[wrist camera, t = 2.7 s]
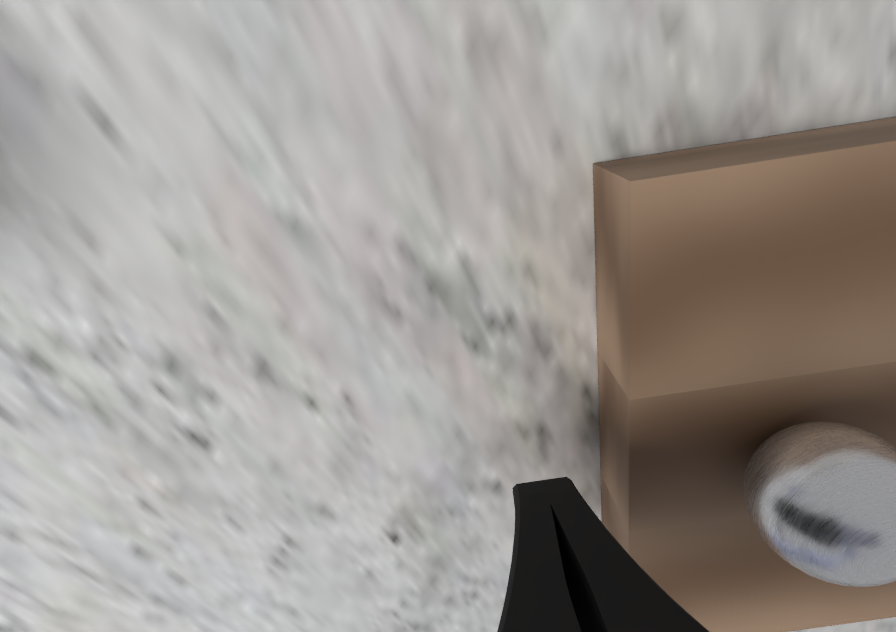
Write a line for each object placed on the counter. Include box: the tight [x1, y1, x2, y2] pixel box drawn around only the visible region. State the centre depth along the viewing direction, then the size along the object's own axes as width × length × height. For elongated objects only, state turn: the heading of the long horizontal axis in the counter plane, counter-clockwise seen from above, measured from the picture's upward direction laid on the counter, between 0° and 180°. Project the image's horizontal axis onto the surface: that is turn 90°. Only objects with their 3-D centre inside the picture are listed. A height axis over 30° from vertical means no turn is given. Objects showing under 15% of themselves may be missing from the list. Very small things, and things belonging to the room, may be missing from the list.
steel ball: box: [744, 422, 896, 587], centre depth 12 cm, size 4×4×4 cm
